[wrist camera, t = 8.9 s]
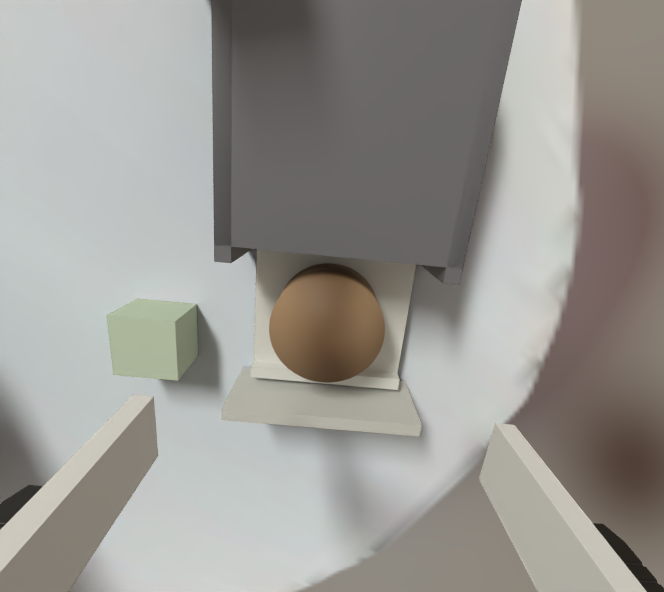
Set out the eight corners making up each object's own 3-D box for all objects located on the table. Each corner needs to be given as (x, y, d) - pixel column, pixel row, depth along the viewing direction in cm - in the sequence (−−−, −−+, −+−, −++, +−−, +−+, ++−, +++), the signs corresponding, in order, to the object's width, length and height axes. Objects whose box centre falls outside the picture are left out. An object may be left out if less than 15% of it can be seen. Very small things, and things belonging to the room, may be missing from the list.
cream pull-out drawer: (246, 199, 25) (220, 201, 20) (435, 218, 26) (464, 225, 20) (243, 376, 30) (221, 419, 24) (403, 390, 30) (419, 436, 25)
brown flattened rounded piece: (276, 352, 28) (267, 377, 24) (281, 258, 25) (271, 270, 21) (371, 360, 28) (376, 387, 24) (384, 268, 25) (392, 281, 21)
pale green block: (142, 351, 29) (113, 374, 26) (137, 298, 28) (106, 315, 24) (198, 356, 29) (178, 380, 26) (196, 304, 28) (175, 321, 24)
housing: (248, 4, 22) (210, -81, 15) (471, 29, 22) (531, -43, 15) (244, 244, 26) (214, 261, 20) (428, 262, 27) (459, 284, 20)
